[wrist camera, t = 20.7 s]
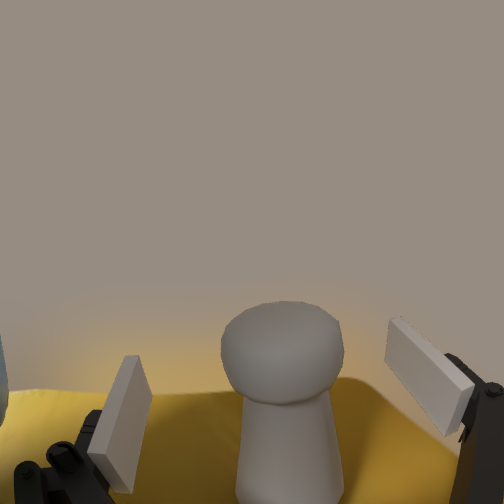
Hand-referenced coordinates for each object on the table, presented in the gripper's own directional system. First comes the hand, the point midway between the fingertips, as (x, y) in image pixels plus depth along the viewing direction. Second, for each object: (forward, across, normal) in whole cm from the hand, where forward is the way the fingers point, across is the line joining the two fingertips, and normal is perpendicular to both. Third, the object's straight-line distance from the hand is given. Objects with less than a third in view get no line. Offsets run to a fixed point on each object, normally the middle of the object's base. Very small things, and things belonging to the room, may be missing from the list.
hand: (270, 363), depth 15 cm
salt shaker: (-4, 0, -9) cm, 9 cm away
